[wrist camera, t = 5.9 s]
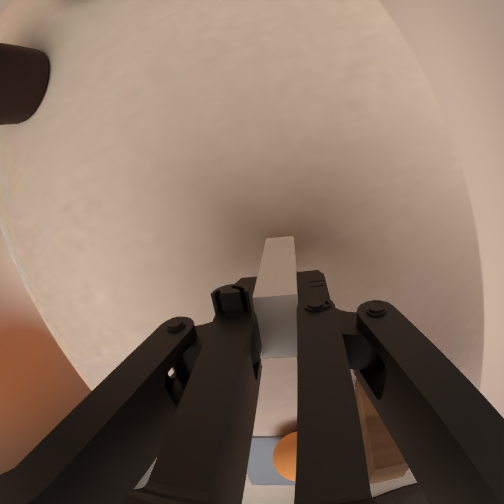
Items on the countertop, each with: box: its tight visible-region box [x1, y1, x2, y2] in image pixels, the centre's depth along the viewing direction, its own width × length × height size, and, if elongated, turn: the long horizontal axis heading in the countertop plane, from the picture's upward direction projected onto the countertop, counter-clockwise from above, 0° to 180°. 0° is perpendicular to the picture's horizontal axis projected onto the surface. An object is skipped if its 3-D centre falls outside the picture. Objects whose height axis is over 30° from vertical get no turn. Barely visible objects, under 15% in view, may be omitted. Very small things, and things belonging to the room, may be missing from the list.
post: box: [355, 379, 409, 484], centre depth 17 cm, size 3×3×9 cm
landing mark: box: [247, 436, 295, 485], centre depth 26 cm, size 14×14×1 cm
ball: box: [273, 431, 297, 481], centre depth 22 cm, size 6×6×6 cm
